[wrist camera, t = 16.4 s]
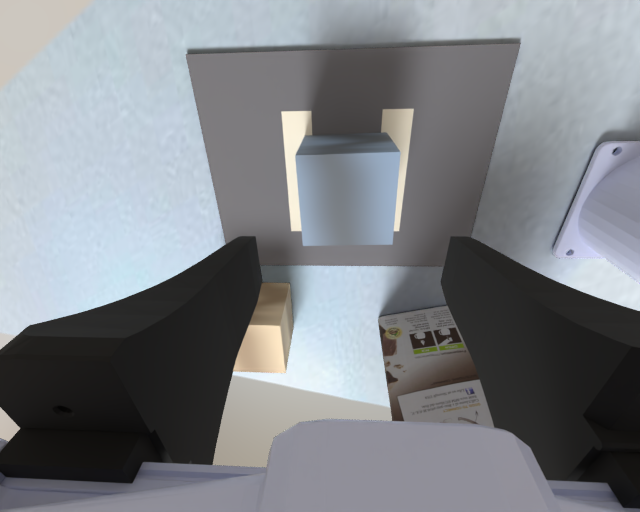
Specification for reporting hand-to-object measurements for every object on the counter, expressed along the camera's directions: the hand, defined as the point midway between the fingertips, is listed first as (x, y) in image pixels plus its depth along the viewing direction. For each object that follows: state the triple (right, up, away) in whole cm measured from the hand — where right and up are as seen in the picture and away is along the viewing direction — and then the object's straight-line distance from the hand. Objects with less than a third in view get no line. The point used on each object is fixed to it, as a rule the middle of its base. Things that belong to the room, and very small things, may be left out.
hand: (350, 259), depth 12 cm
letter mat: (+1, +5, +9) cm, 10 cm away
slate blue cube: (+1, +5, +9) cm, 10 cm away
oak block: (-6, -4, +15) cm, 17 cm away
